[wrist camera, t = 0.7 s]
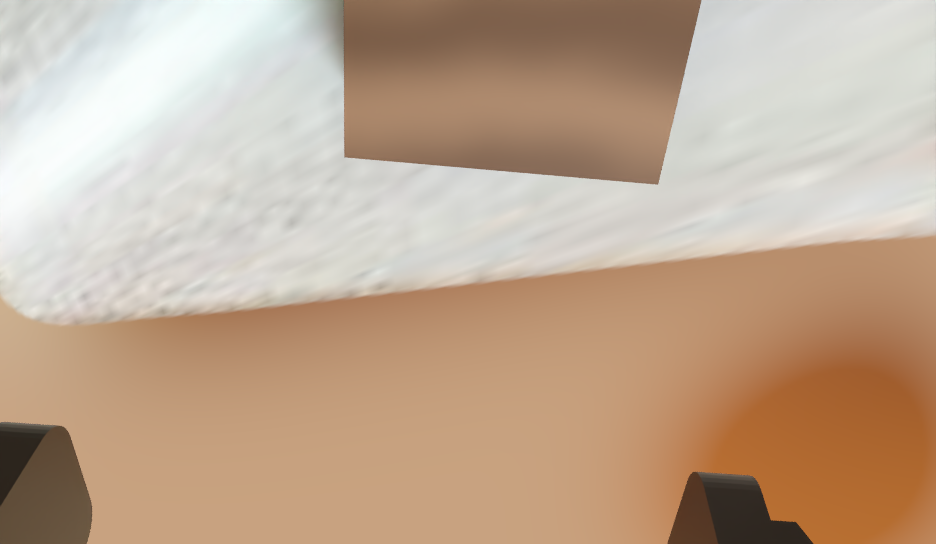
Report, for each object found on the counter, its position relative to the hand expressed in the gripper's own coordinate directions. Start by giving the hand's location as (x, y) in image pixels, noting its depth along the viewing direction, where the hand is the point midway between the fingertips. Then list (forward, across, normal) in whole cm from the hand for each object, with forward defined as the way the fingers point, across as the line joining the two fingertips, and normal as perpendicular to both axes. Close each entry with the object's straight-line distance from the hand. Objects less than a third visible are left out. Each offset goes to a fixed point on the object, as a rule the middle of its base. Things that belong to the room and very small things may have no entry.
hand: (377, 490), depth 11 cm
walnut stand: (+26, -2, 0) cm, 26 cm away
